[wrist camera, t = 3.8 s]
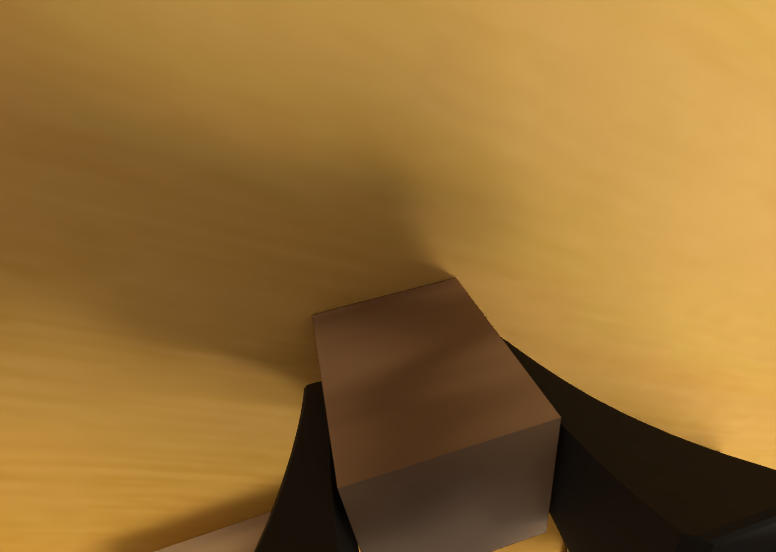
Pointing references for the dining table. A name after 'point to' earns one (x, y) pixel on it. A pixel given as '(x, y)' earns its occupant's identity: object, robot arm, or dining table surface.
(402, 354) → the walnut block
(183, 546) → the oak base
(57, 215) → the dining table surface
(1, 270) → the dining table surface
